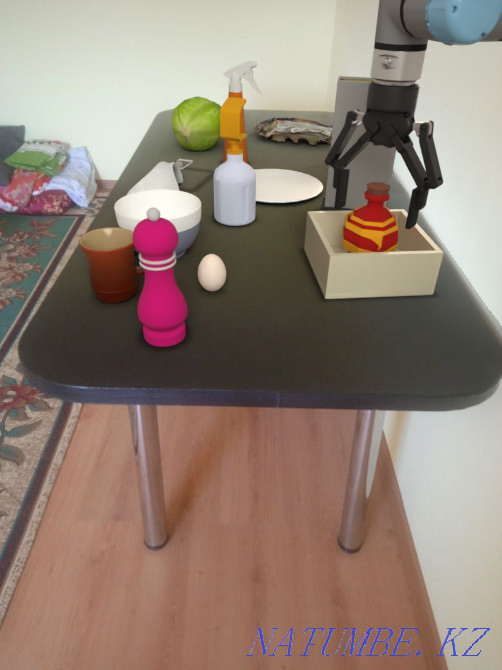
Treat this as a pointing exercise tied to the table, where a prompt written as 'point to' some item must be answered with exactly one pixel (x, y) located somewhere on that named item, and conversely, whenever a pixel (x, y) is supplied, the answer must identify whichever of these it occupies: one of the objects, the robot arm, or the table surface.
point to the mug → (111, 263)
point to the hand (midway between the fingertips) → (373, 216)
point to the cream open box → (370, 260)
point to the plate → (285, 186)
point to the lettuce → (197, 123)
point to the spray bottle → (236, 92)
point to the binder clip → (182, 163)
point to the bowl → (162, 213)
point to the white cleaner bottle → (234, 172)
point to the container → (370, 161)
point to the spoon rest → (160, 178)
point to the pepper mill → (159, 281)
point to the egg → (211, 272)
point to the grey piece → (295, 130)
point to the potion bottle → (371, 223)
